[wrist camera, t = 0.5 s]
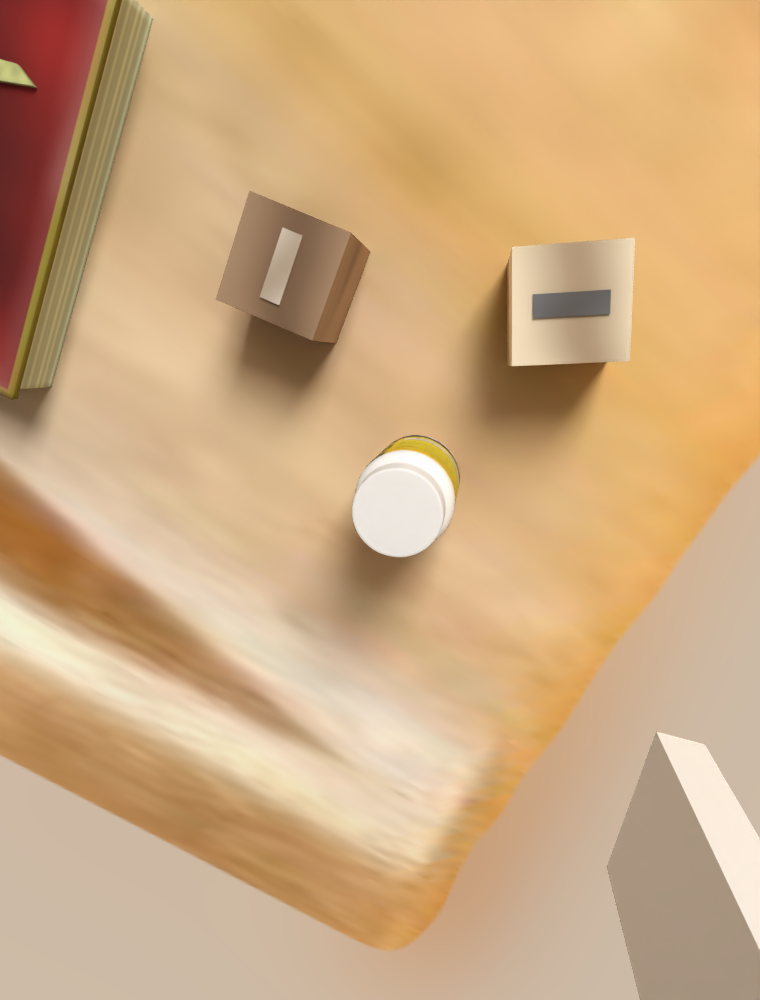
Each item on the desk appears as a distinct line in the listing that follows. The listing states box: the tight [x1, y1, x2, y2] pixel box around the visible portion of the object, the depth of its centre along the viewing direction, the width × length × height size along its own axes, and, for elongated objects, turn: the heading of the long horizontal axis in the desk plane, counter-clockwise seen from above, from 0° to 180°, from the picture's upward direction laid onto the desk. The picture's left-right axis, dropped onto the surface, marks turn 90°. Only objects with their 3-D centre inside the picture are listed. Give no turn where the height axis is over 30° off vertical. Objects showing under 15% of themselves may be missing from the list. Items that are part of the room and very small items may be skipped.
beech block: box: [507, 238, 635, 366], centre depth 29 cm, size 5×5×5 cm
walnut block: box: [216, 191, 370, 343], centre depth 30 cm, size 5×5×5 cm
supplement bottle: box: [352, 435, 460, 557], centre depth 30 cm, size 5×5×8 cm
